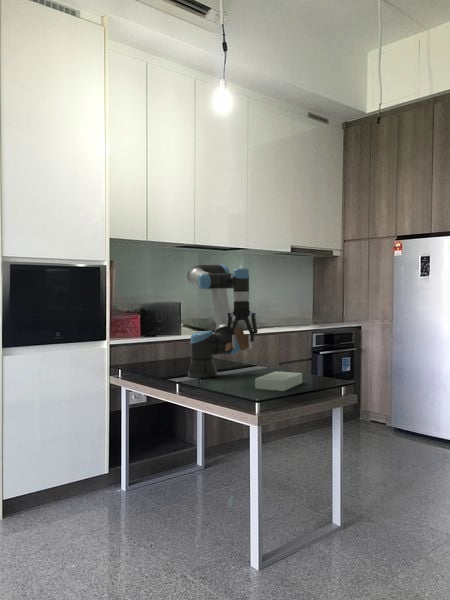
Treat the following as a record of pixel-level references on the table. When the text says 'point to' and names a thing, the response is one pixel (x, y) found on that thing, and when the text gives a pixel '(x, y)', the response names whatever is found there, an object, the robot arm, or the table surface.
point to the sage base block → (278, 381)
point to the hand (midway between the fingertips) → (242, 348)
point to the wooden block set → (239, 340)
